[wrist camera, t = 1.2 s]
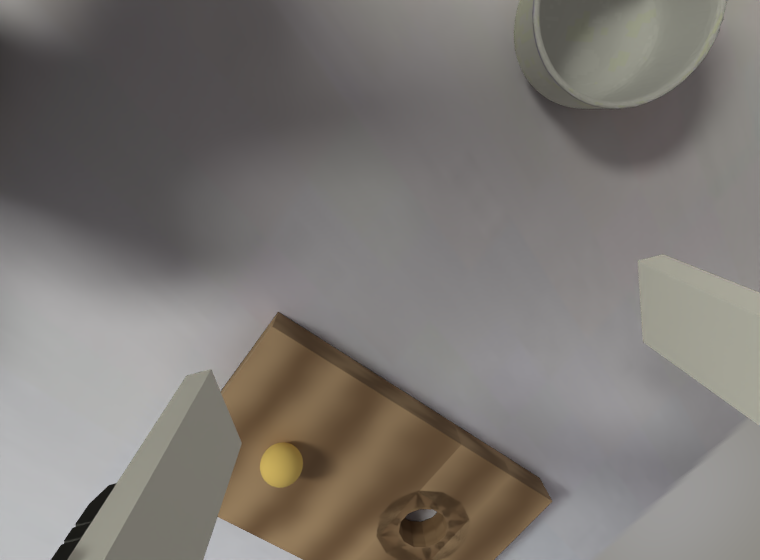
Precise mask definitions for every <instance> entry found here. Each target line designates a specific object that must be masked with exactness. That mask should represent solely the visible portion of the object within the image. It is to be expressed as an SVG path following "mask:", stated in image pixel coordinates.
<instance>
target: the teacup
mask: <svg viewBox="0 0 760 560" xmlns="http://www.w3.org/2000/svg"><path fill="white" fill-rule="evenodd" d="M726 3H727V0H520V2H519V5H518V8H517V12H516V17H515V25H514V44H515V51H516V55H517V59H518V62H519V65H520V67H521V70H522V72H523V73H524V75H525V77H526V78H527V80H528V81H529V82H530V84H531V85H532V86H533V87H534V88H535V89H536V90H537V91H538V92H539V93H540V94H541V95H543V96H544V97H546V98H547V99H549V100H551V101H553V102H555V103H557V104H560V105H563V106H567V107H571V108H580V109H601V108H605V109H625V108H632V107H636V106H639V105H643V104H645V103H648V102H650V101H653V100H655V99H657V98H659V97H661V96H663V95H664V94H666V93H668V92H669V91H671V90H673V89H674V88H675V87H677V86H678V85H679V84H681V83H682V82H683V81H684V80H685V79H686V78H687V77H688V76H689V75H690V74H691V73H692V72H693V71H694V70H695V69H696V67H697V66H698V65H699V64H700V63H701V62H702V60H703V59H704V57H705V56H706V54H707V53H708V51H709V49H710V48H711V46H712V44H713V43H714V41H715V39H716V37H717V35H718V33H719V30H720V25H721V23H722V21H723V18H724V12H725V7H726Z"/></svg>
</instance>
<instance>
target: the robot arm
mask: <svg viewBox="0 0 760 560" xmlns="http://www.w3.org/2000/svg"><path fill="white" fill-rule="evenodd" d="M638 275H639V290H640V306H641V321H642V336H643V342H644V343H645V344H646V345H648V346H649V347H651V348H652V349H653V350H655V351H656V352H658V353H659V354H660V355H662V356H663V357H665V358H666V359H667V360H669V361H670V362H671V363H673V364H674V365H676V366H677V367H678V368H680V369H681V370H683V371H684V372H685V373H687V374H688V375H690V376H691V377H692V378H694V379H695V380H696V381H698V382H699V383H701V384H702V385H703V386H705V387H706V388H708V389H709V390H710V391H712V392H713V393H715V394H716V395H717V396H719V397H720V398H722V399H723V400H724V401H726V402H727V403H728V404H730V405H731V406H733V407H734V408H735V409H737V410H738V411H740V412H741V413H742V414H744V415H745V416H747V417H748V418H749V419H751V420H752V421H753V422H755V423H756V424H758V425H759V426H760V293H759V292H756V291H754V290H751V289H749V288H746V287H744V286H741V285H739V284H736V283H734V282H731V281H729V280H726V279H724V278H721V277H719V276H716V275H714V274H711V273H709V272H706V271H704V270H701V269H699V268H696V267H693V266H691V265H688V264H686V263H683V262H681V261H678V260H676V259H673V258H671V257H668V256H666V255H663V254H662V255H658V256H654V257H650V258H646V259H642V260H638ZM241 444H242V442H241V440H240V438H239V435H238V433H237V430H236V428H235V425H234V423H233V421H232V418H231V416H230V413H229V411H228V409H227V406H226V404H225V401H224V399H223V397H222V394H221V392H220V389H219V387H218V385H217V382H216V380H215V377H214V375H213V372H212V370H207V371H203V372H199V373H195V374H191V375H187V376H186V377H185V379H184V380H183V382H182V383H181V385H180V387H179V388H178V390H177V391H176V393H175V394H174V396H173V397H172V399H171V400H170V402H169V404H168V405H167V407H166V408H165V410H164V411H163V413H162V414H161V416H160V417H159V419H158V421H157V422H156V424H155V425H154V427H153V428H152V430H151V431H150V433H149V434H148V436H147V438H146V439H145V441H144V442H143V444H142V445H141V447H140V448H139V450H138V451H137V453H136V454H135V456H134V458H133V459H132V461H131V462H130V464H129V465H128V467H127V468H126V470H125V471H124V473H123V475H122V476H121V478H120V479H119V481H118V482H117V483H116V484H112V485H109V486H108V487H107V488H106V489H105V490H103V491H102V492H101V493H100V494H99V495H98V496H97V497H96V498H95V499H94V500H93V501H92V502H91V503H90V504H89V505H88V506H87V508H86V509H85V511H84V512H83V514H82V515H81V517H80V518H79V520H78V521H77V523H76V527H74V528H72V530H71V531H70V533H69V534H68V536H67V537H66V539H65V540H64V544H62V545H61V546H60V547H59V549H58V550H57V552H56V553H55V555H54V556H53V558H52V559H51V560H203V559H204V556H205V553H206V550H207V547H208V544H209V541H210V538H211V535H212V532H213V529H214V526H215V523H216V520H217V517H218V514H219V511H220V508H221V505H222V502H223V499H224V495H225V492H226V489H227V486H228V483H229V480H230V477H231V474H232V471H233V468H234V465H235V462H236V459H237V456H238V453H239V450H240V447H241Z"/></svg>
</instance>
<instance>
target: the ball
mask: <svg viewBox="0 0 760 560" xmlns="http://www.w3.org/2000/svg"><path fill="white" fill-rule="evenodd" d="M302 468H303V459H302V455H301V453H300V451H299V450H298V449H297V448H296V447H295V446H294V445H292V444H290V443H285V442H281V443H276V444H274V445H272V446H271V447H269V448H268V449H267V450H266V451H265V453H264V454H263V456H262V458H261V462H260V472H261V475H262V477H263V479H264V480H265V481H266V482H267V483H268V484H269V485H271V486H273V487H277V488H283V487H287V486H289V485H291V484H293V483H294V482H295V481H296V480H297V479H298V477H299V476H300V474H301V472H302Z"/></svg>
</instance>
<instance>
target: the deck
mask: <svg viewBox="0 0 760 560" xmlns="http://www.w3.org/2000/svg"><path fill="white" fill-rule="evenodd" d="M221 394H222V397H223V399H224V401H225V404H226V406H227V409H228V411H229V413H230V416H231V418H232V421H233V423H234V425H235V428H236V430H237V433H238V435H239V438H240V440H241V442H242V444H241V447H240V450H239V453H238V456H237V459H236V462H235V465H234V468H233V471H232V474H231V477H230V480H229V483H228V486H227V489H226V492H225V495H224V499H223V502H222V505H221V508H220V511H219V514H218V517H219V518H221V519H223V520H225V521H227V522H229V523H231V524H233V525H235V526H237V527H239V528H241V529H243V530H245V531H247V532H249V533H251V534H253V535H255V536H257V537H259V538H261V539H263V540H265V541H267V542H269V543H271V544H273V545H275V546H277V547H279V548H281V549H283V550H285V551H287V552H289V553H291V554H293V555H295V556H297V557H299V558H301V559H303V560H494V559H495V558H496V557H497V556H498V555H499V554H500V553H501V552H502V551H503V550H504V549H505V548H506V547H507V546H508V545H509V544H510V543H511V542H512V541H513V540H514V539H515V538H516V537H517V536H518V535H519V534H520V533H521V532H522V531H523V530H524V529H525V528H526V527H527V526H528V525H529V524H530V523H531V522H532V521H533V520H534V519H535V518H536V517H537V516H538V515H539V514H540V513H541V512H542V511H543V510H544V509H545V508H546V507H547V506H548V505H549V504H550V503H551V502H552V500H551V498H550V496H549V494H548V492H547V491H546V489H545V487H544V485H543V483H542V481H541V480H540V478H539V477H537V476H536V475H534V474H532V473H531V472H529V471H528V470H526V469H525V468H523V467H521V466H520V465H518V464H517V463H515V462H514V461H512V460H510V459H509V458H507V457H506V456H504V455H503V454H501V453H499V452H498V451H496V450H495V449H493V448H492V447H490V446H488V445H487V444H485V443H484V442H482V441H481V440H479V439H477V438H476V437H474V436H473V435H471V434H470V433H468V432H466V431H465V430H463V429H462V428H460V427H458V426H457V425H455V424H454V423H452V422H451V421H449V420H447V419H446V418H444V417H443V416H441V415H440V414H438V413H436V412H435V411H433V410H432V409H430V408H429V407H427V406H425V405H424V404H422V403H421V402H419V401H418V400H416V399H414V398H413V397H411V396H410V395H408V394H407V393H405V392H403V391H402V390H400V389H399V388H397V387H396V386H394V385H392V384H391V383H389V382H388V381H386V380H385V379H383V378H381V377H380V376H378V375H377V374H375V373H373V372H372V371H370V370H369V369H367V368H366V367H364V366H362V365H361V364H359V363H358V362H356V361H355V360H353V359H351V358H350V357H348V356H347V355H345V354H344V353H342V352H340V351H339V350H337V349H336V348H334V347H333V346H331V345H329V344H328V343H326V342H325V341H323V340H322V339H320V338H318V337H317V336H315V335H314V334H312V333H311V332H309V331H307V330H306V329H304V328H303V327H301V326H300V325H298V324H296V323H295V322H293V321H292V320H290V319H288V318H287V317H285V316H284V315H282V314H281V313H279V312H278V313H277V314H276V316H275V317H274V318H273V320H272V321H271V323H270V324H269V325H268V327H267V328H266V329H265V331H264V332H263V334H262V335H261V336H260V338H259V339H258V341H257V342H256V343H255V345H254V346H253V347H252V349H251V350H250V352H249V353H248V354H247V356H246V357H245V358H244V360H243V361H242V363H241V364H240V365H239V367H238V368H237V370H236V371H235V372H234V374H233V375H232V376H231V378H230V379H229V381H228V382H227V383H226V385H225V386H224V388H223V389H222V390H221ZM281 442H285V443H290V444H292V445H294V446H295V447H296V448H297V449H298V450H299V451H300V453H301V455H302V459H303V468H302V472H301V474H300V476H299V477H298V479H297V480H296V481H295V482H294V483H293V484H291V485H289V486H287V487H283V488H277V487H273V486H271V485H269V484H268V483H267V482H266V481H265V480H264V479H263V477H262V475H261V472H260V462H261V458H262V456H263V454H264V453H265V451H266V450H267V449H268V448H269V447H271V446H272V445H274V444H276V443H281ZM419 509H433V510H435V511H437V513H436V514H435V515H434V516H433V517H432V518H430V519H427V520H425V521H422V522H418V521H409V520H407V519H405V517H406V516H407V515H408V514H409V513H411V512H414V511H416V510H419Z"/></svg>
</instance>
